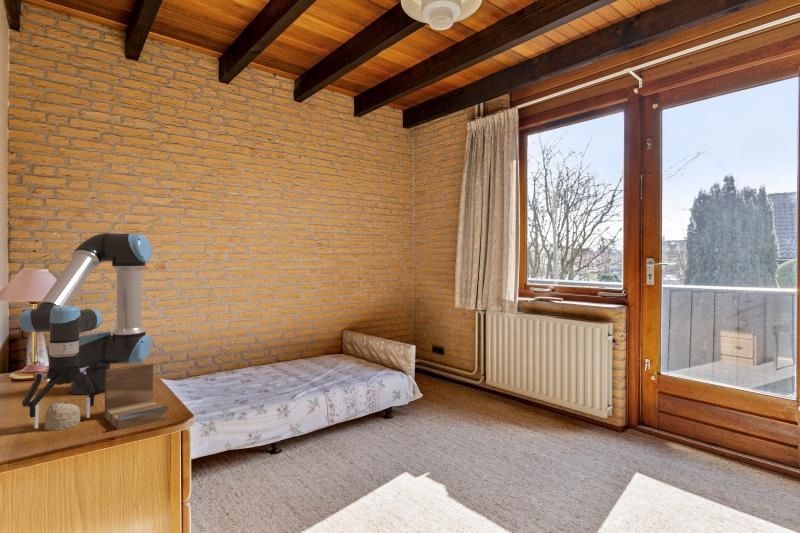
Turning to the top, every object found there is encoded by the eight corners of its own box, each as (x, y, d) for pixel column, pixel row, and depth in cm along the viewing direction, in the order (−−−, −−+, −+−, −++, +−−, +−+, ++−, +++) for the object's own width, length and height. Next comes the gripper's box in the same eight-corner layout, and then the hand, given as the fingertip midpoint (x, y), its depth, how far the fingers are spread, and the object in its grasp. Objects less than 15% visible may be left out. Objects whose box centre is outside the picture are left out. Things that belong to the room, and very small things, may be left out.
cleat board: (104, 417, 141) (105, 369, 142) (150, 407, 152) (151, 363, 152) (118, 430, 130) (119, 379, 130) (167, 419, 140) (168, 371, 141)
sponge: (67, 432, 138) (50, 407, 138) (93, 415, 139) (75, 390, 139) (46, 443, 129) (27, 417, 129) (73, 425, 130) (54, 399, 130)
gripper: (14, 362, 123) (12, 435, 122) (112, 351, 141) (110, 415, 141) (11, 358, 128) (9, 428, 127) (106, 348, 146) (105, 409, 146)
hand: (62, 421), depth 134 cm, fingers open, 12 cm apart
